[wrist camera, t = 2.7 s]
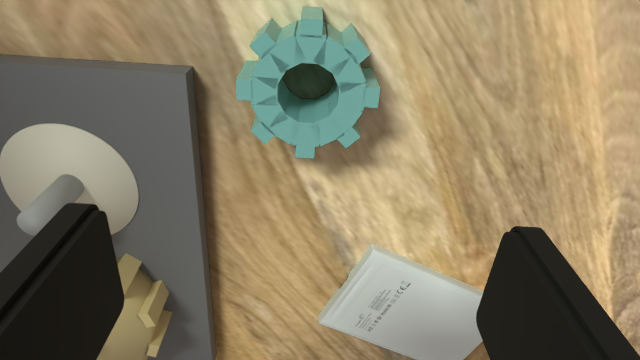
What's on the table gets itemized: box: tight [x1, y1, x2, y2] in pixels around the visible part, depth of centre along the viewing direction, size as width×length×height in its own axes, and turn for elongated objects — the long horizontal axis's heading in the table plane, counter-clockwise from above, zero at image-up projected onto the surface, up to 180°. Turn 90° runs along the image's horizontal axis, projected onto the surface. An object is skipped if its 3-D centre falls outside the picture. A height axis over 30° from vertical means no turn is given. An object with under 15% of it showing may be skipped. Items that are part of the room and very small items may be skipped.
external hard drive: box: [318, 243, 484, 360], centre depth 33 cm, size 2×8×12 cm
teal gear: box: [236, 7, 380, 158], centre depth 23 cm, size 7×7×4 cm
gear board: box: [0, 55, 217, 360], centre depth 27 cm, size 24×15×6 cm, turn 176°
